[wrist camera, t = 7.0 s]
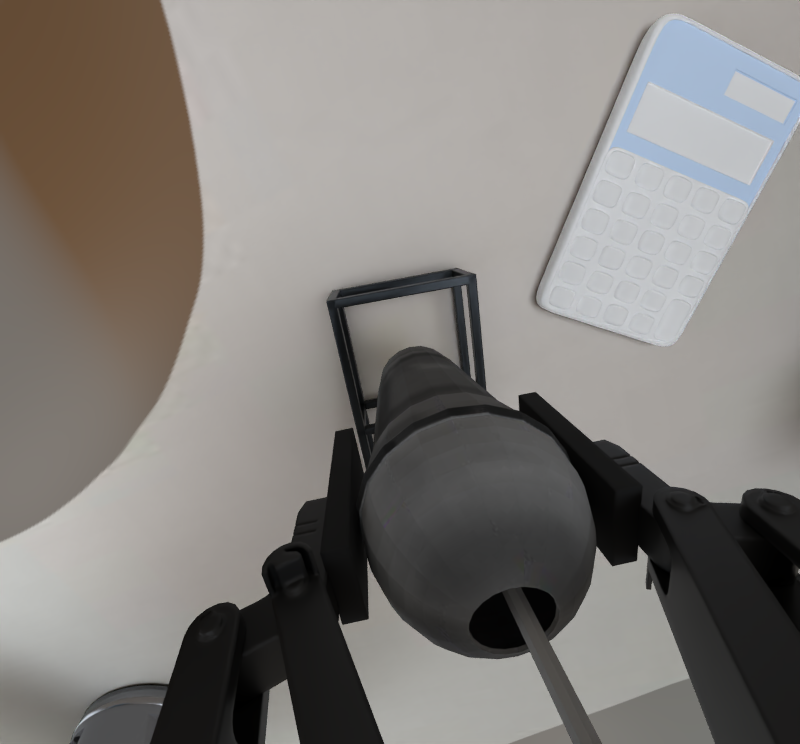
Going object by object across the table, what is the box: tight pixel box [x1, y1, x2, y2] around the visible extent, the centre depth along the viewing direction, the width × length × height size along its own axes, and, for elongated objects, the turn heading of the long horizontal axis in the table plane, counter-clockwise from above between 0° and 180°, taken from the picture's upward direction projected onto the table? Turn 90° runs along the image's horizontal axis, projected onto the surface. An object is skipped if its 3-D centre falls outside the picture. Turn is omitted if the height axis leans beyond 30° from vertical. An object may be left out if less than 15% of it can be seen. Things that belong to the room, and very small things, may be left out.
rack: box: [327, 268, 486, 470], centre depth 30 cm, size 10×20×5 cm, turn 10°
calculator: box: [536, 13, 800, 347], centre depth 28 cm, size 13×20×2 cm, turn 163°
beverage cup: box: [356, 346, 602, 744], centre depth 14 cm, size 7×7×20 cm
